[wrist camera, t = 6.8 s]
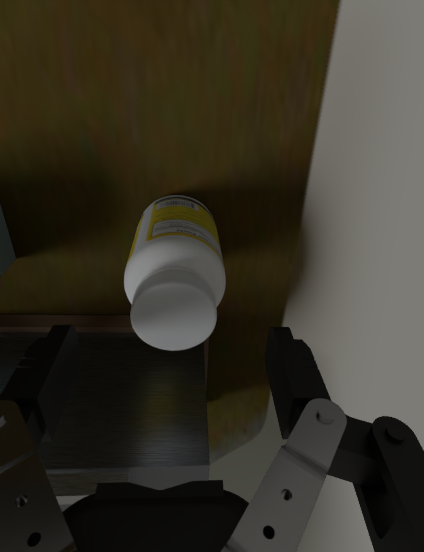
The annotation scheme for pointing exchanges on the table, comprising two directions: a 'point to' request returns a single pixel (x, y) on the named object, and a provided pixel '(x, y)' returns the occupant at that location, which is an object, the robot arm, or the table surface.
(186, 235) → the supplement bottle
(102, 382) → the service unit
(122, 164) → the table surface
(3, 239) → the rectangular block
